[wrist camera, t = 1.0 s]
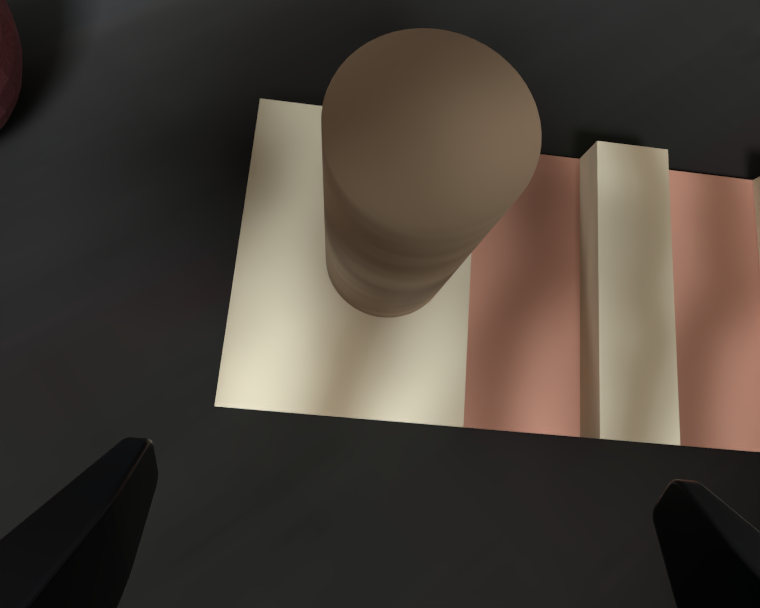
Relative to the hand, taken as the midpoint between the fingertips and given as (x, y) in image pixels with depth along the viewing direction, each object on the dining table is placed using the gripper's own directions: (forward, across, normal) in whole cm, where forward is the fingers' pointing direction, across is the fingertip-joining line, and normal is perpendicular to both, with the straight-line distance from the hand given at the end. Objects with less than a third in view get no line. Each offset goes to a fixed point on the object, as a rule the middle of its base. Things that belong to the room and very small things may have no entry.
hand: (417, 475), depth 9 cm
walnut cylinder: (+13, 0, +3) cm, 13 cm away
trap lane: (+14, -11, +4) cm, 18 cm away
